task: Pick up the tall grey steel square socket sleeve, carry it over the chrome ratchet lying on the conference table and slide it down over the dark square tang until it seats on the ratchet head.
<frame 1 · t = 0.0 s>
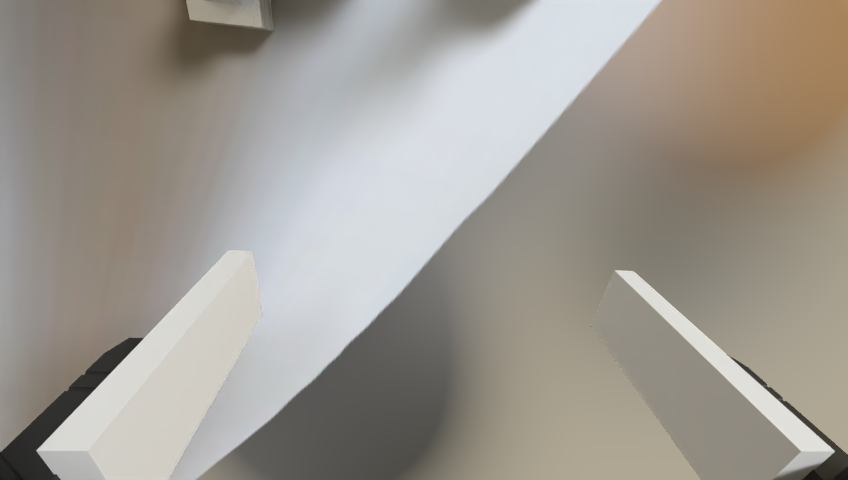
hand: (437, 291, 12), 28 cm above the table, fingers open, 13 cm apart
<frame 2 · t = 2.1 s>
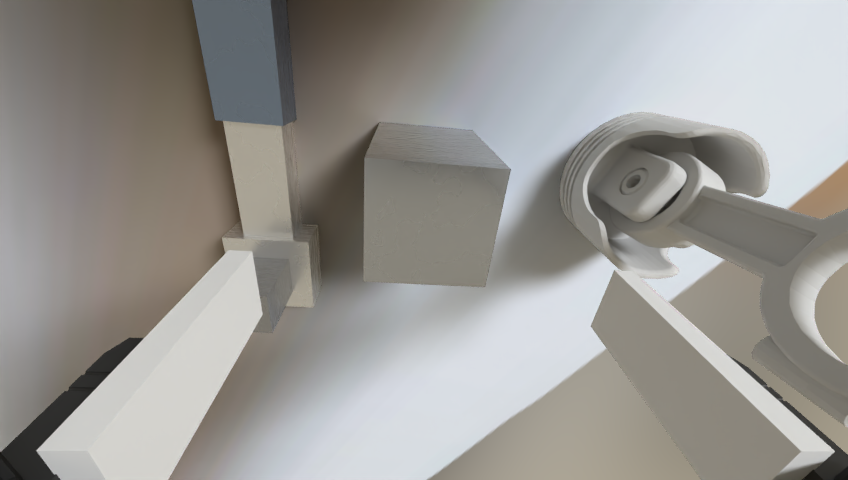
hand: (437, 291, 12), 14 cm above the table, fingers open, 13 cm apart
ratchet: (283, 254, 28), on the table
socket: (422, 171, 25), on the table
engine component: (625, 174, 26), on the table
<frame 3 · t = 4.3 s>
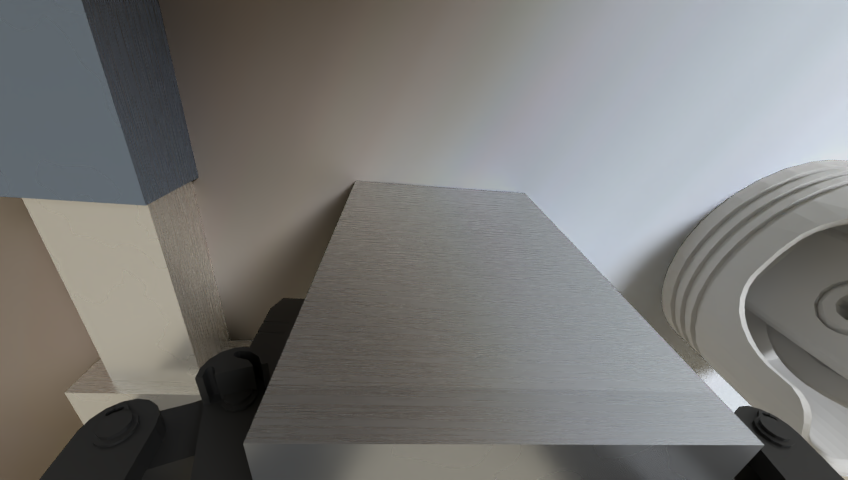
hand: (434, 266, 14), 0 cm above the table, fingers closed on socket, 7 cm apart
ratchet: (204, 382, 17), on the table
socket: (433, 260, 14), on the table, touching gripper
engine component: (775, 257, 15), on the table
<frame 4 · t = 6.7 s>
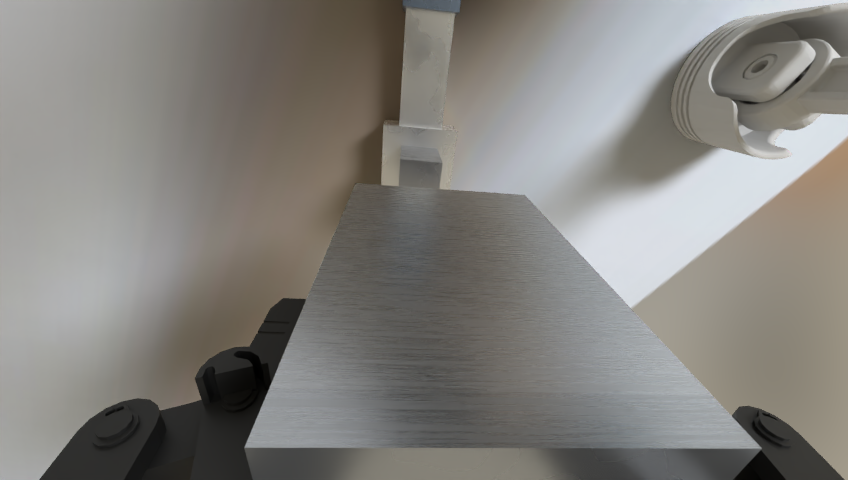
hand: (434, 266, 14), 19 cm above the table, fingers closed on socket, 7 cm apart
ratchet: (416, 156, 31), on the table
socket: (433, 262, 14), point 18 cm above the table, touching gripper
engine component: (731, 79, 29), on the table
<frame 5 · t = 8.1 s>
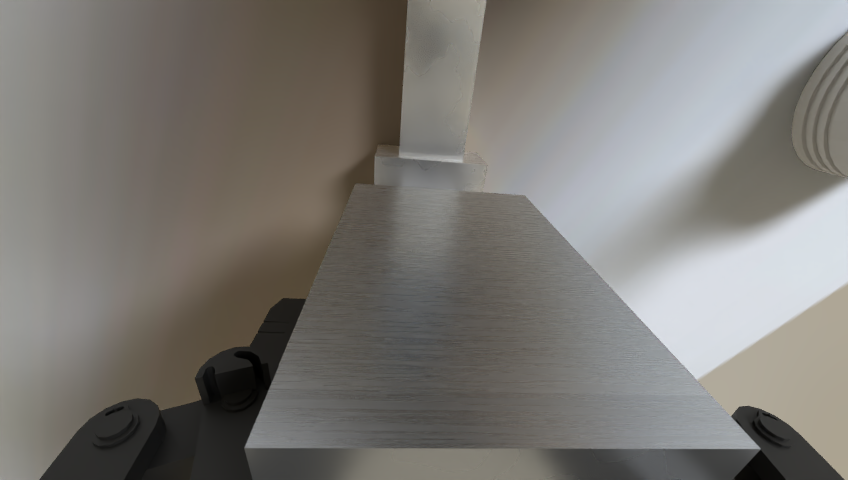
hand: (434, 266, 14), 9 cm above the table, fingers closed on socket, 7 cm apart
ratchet: (423, 194, 21), on the table
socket: (433, 262, 14), point 8 cm above the table, touching gripper
when the fingers open (4 cm above the table, at t = 9.4 s): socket stays where it is, resting on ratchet.
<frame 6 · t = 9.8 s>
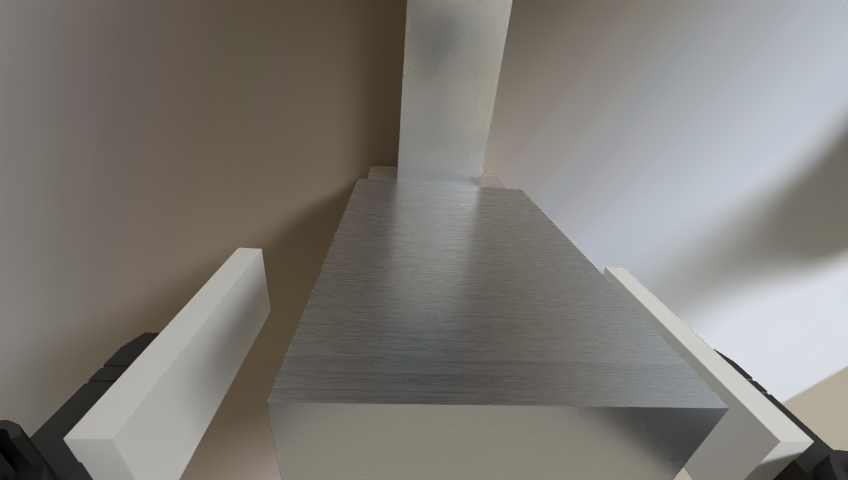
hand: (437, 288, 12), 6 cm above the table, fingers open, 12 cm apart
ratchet: (428, 225, 17), on the table, touching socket
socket: (433, 255, 15), point 3 cm above the table, touching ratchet
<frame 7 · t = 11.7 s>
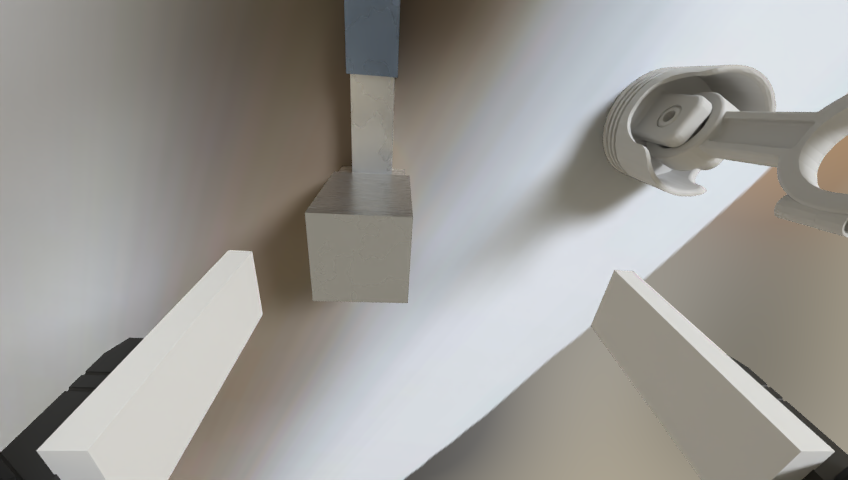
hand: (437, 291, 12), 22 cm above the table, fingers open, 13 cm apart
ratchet: (373, 197, 33), on the table, touching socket
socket: (371, 208, 31), point 3 cm above the table, touching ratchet
engine component: (656, 121, 32), on the table
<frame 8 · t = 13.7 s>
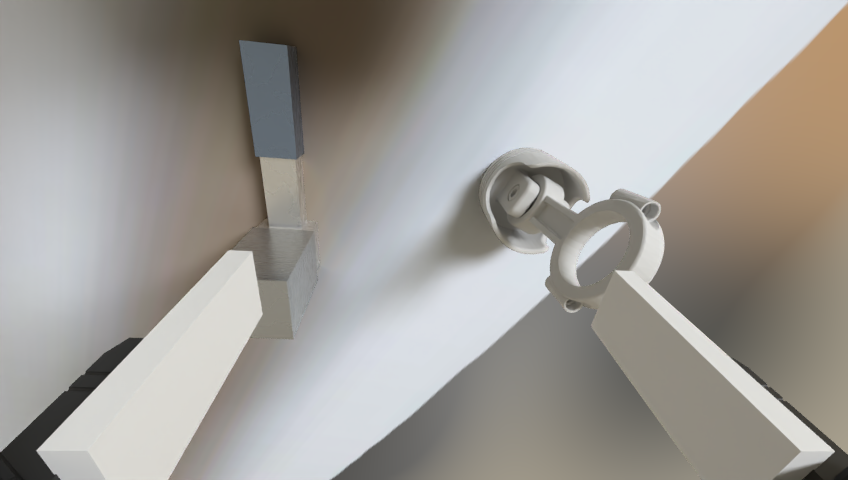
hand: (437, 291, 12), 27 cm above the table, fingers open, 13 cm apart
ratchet: (294, 241, 41), on the table
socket: (286, 254, 38), point 3 cm above the table
engine component: (522, 186, 39), on the table
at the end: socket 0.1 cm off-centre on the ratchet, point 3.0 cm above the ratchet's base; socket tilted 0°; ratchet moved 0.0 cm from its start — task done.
